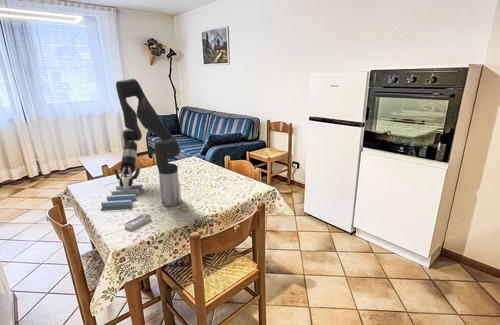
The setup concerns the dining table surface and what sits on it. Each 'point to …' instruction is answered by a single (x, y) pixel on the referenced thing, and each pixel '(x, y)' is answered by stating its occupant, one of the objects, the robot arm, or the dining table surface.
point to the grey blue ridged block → (121, 198)
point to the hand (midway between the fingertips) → (125, 185)
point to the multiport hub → (137, 221)
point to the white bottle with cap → (126, 182)
